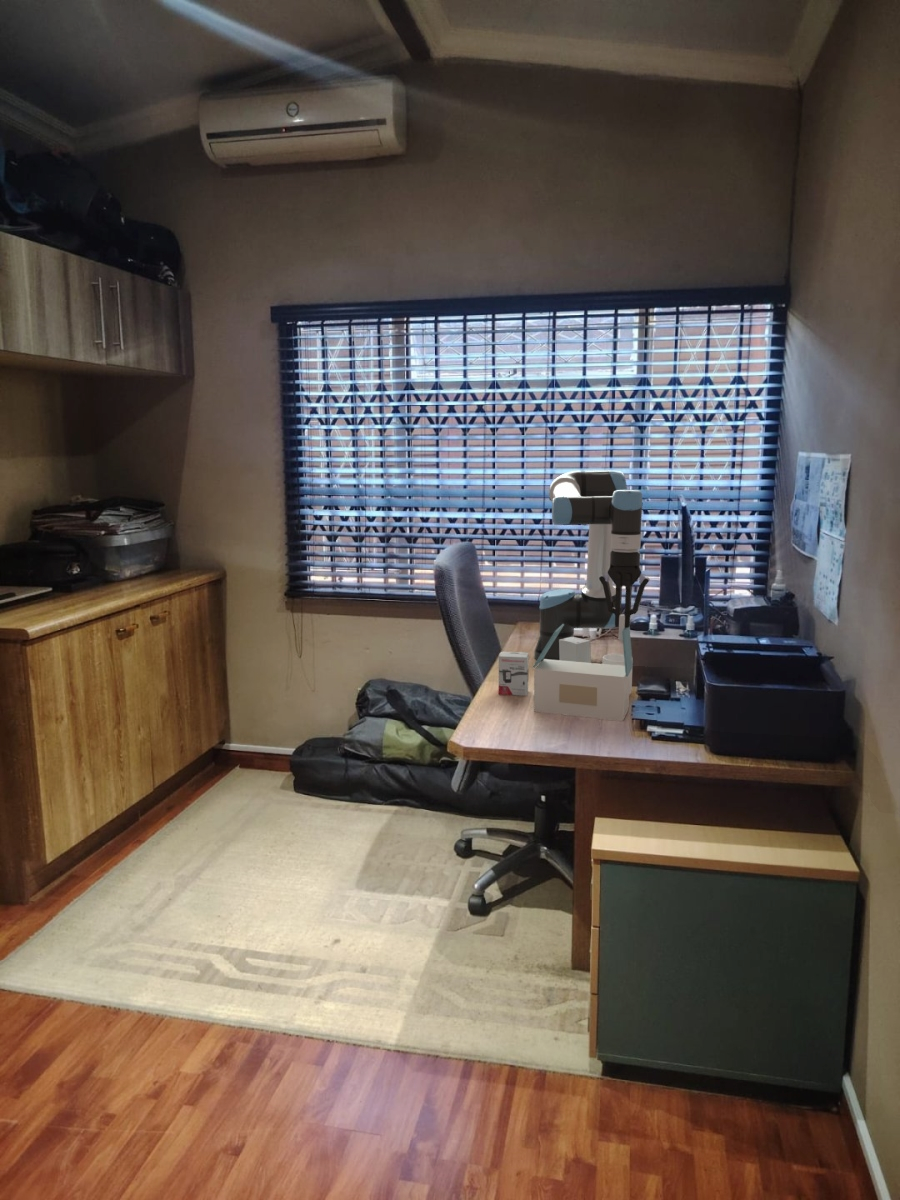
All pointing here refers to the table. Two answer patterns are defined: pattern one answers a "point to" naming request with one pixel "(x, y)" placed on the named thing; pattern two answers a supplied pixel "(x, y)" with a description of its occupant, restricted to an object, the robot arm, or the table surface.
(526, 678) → the ink box
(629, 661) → the flap
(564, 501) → the robot arm
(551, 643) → the flap
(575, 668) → the carton
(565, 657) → the skincare box
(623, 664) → the mug
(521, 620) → the table surface
